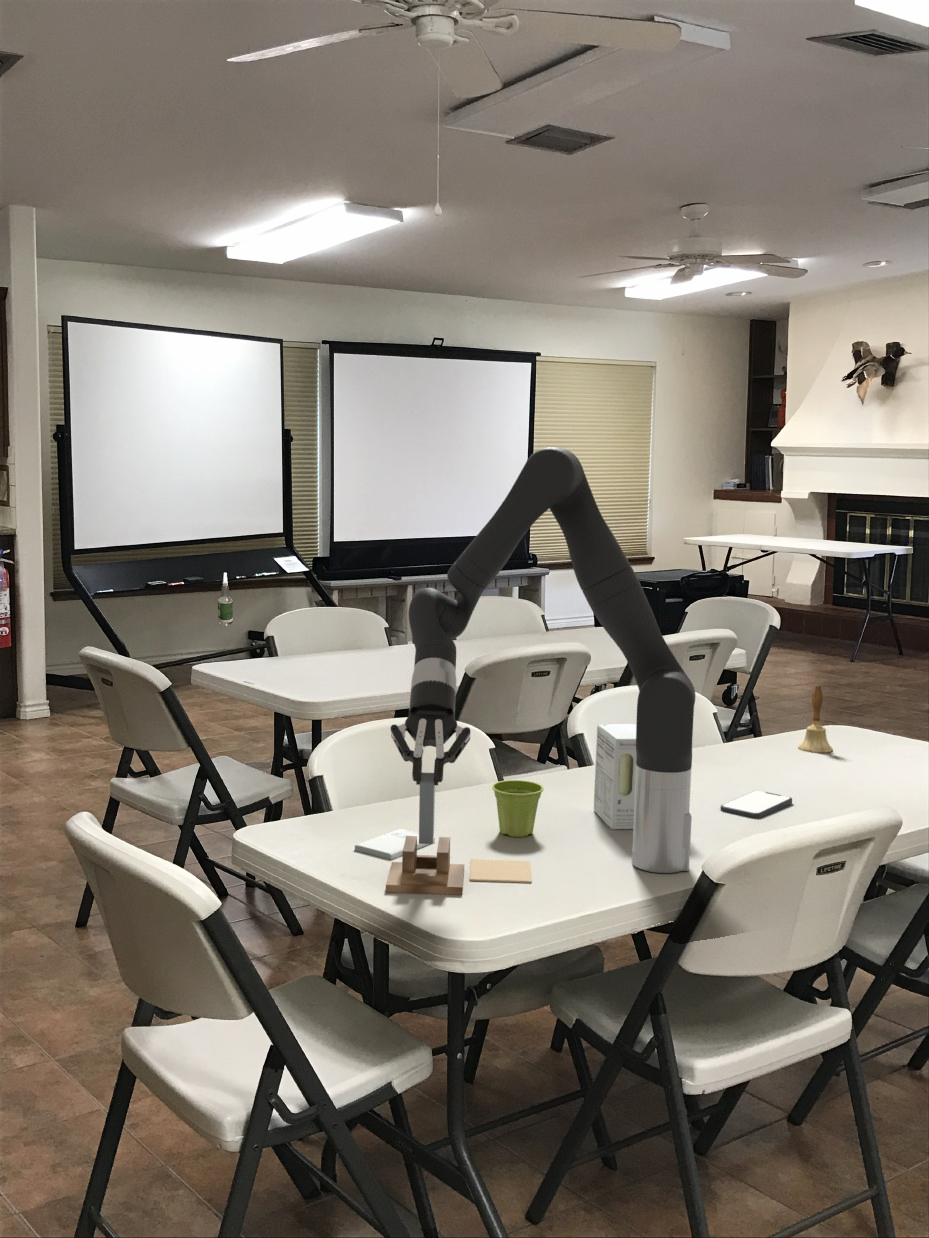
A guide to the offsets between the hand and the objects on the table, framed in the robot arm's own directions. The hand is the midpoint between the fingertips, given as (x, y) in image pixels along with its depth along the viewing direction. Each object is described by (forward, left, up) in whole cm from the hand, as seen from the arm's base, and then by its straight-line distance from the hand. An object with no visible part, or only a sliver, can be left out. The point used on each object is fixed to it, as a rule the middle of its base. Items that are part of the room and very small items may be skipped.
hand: (427, 782), depth 187 cm
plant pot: (-15, -30, -17) cm, 38 cm away
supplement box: (-38, -41, -17) cm, 59 cm away
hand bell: (-90, -107, -17) cm, 141 cm away
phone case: (-64, -53, -18) cm, 85 cm away
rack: (0, -2, -17) cm, 17 cm away
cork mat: (-12, -8, -17) cm, 22 cm away
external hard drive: (+6, -20, -18) cm, 27 cm away
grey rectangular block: (0, -3, -10) cm, 10 cm away
